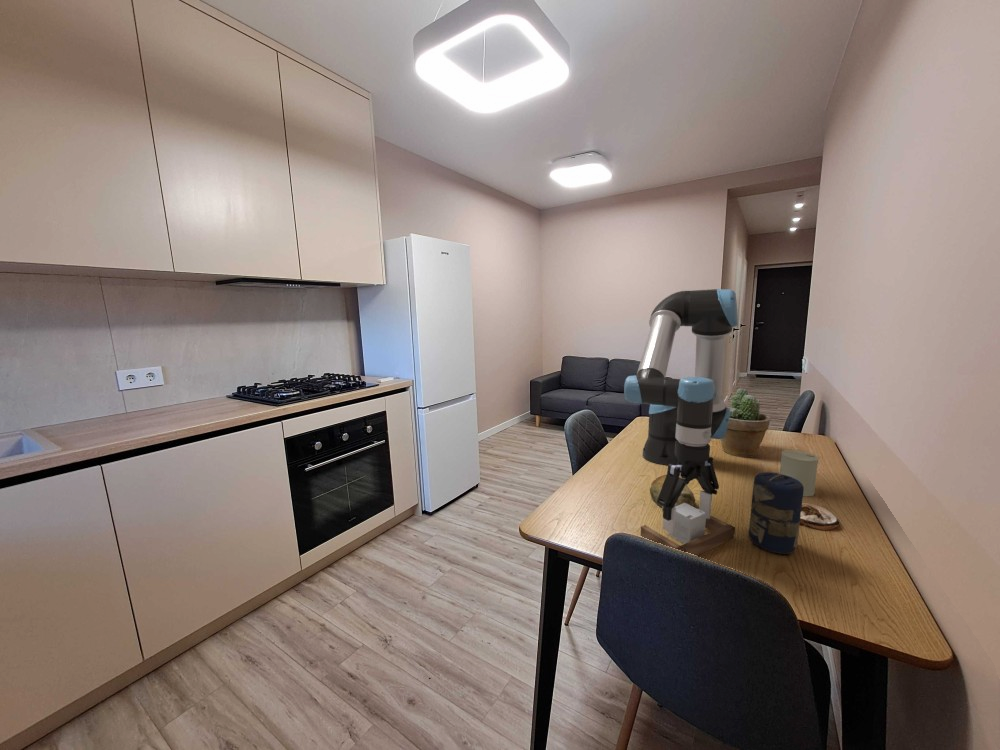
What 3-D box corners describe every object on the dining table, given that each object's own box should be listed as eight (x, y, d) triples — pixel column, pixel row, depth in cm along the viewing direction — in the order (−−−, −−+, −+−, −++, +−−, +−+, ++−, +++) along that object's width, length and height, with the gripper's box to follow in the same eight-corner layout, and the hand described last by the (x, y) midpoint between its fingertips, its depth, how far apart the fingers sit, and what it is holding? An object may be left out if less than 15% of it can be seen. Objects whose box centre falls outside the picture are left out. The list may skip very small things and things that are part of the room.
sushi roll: (836, 513, 106) (838, 499, 105) (851, 541, 93) (853, 525, 92) (771, 501, 113) (773, 488, 113) (777, 525, 100) (779, 510, 100)
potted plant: (778, 460, 143) (784, 396, 139) (728, 461, 143) (734, 396, 139) (747, 444, 161) (752, 387, 157) (703, 444, 161) (707, 387, 157)
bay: (640, 537, 95) (640, 526, 94) (691, 517, 104) (692, 506, 104) (681, 563, 85) (681, 551, 84) (734, 538, 94) (735, 526, 94)
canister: (738, 534, 95) (744, 467, 93) (773, 532, 96) (781, 465, 93) (768, 558, 86) (776, 484, 83) (807, 556, 87) (816, 482, 84)
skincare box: (682, 528, 99) (684, 501, 98) (705, 539, 94) (707, 512, 92) (667, 535, 96) (669, 508, 95) (689, 547, 91) (691, 519, 90)
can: (821, 497, 114) (826, 460, 112) (787, 495, 116) (791, 458, 114) (803, 484, 123) (808, 449, 121) (772, 482, 125) (775, 447, 123)
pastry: (658, 488, 122) (659, 464, 121) (700, 500, 113) (702, 475, 112) (640, 504, 112) (641, 479, 110) (685, 519, 103) (687, 492, 102)
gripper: (671, 456, 82) (666, 546, 85) (739, 437, 93) (732, 517, 97) (643, 446, 88) (639, 529, 92) (710, 429, 100) (704, 504, 103)
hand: (687, 523), depth 94 cm, fingers open, 13 cm apart
